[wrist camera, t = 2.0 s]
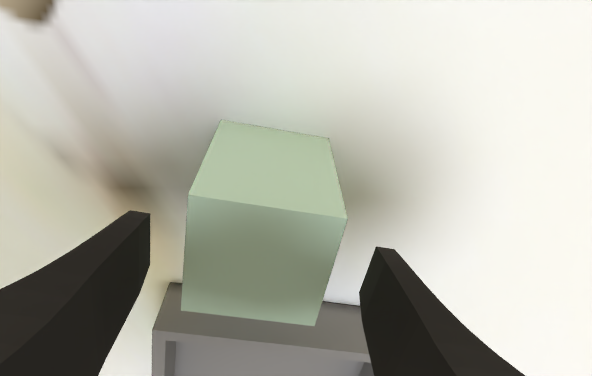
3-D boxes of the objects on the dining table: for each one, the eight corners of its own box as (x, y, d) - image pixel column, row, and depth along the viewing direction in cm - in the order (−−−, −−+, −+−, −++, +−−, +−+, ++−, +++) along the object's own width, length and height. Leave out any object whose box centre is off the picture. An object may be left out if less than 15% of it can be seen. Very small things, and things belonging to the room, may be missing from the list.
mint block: (211, 210, 18) (180, 310, 13) (220, 119, 16) (188, 194, 11) (306, 224, 18) (314, 326, 13) (328, 138, 16) (347, 218, 11)
